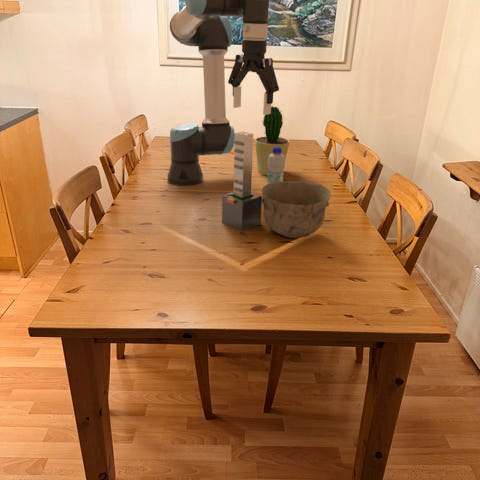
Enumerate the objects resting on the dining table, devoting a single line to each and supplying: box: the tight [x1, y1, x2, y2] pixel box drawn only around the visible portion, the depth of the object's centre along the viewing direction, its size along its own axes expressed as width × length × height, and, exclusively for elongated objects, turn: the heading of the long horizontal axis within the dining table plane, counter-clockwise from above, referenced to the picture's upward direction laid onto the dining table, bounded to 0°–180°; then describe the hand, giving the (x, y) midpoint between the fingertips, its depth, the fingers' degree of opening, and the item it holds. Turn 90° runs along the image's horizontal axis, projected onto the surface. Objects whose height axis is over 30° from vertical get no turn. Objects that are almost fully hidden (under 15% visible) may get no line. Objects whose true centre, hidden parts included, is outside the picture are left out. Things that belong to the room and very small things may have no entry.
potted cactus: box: [254, 105, 291, 177], centre depth 200 cm, size 15×15×30 cm
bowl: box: [261, 180, 332, 239], centre depth 143 cm, size 22×22×15 cm
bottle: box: [266, 147, 286, 185], centre depth 173 cm, size 7×7×20 cm
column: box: [233, 131, 254, 200], centre depth 142 cm, size 4×5×22 cm
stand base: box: [221, 191, 263, 232], centre depth 149 cm, size 14×14×11 cm
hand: (251, 110), depth 146 cm, fingers open, 13 cm apart
